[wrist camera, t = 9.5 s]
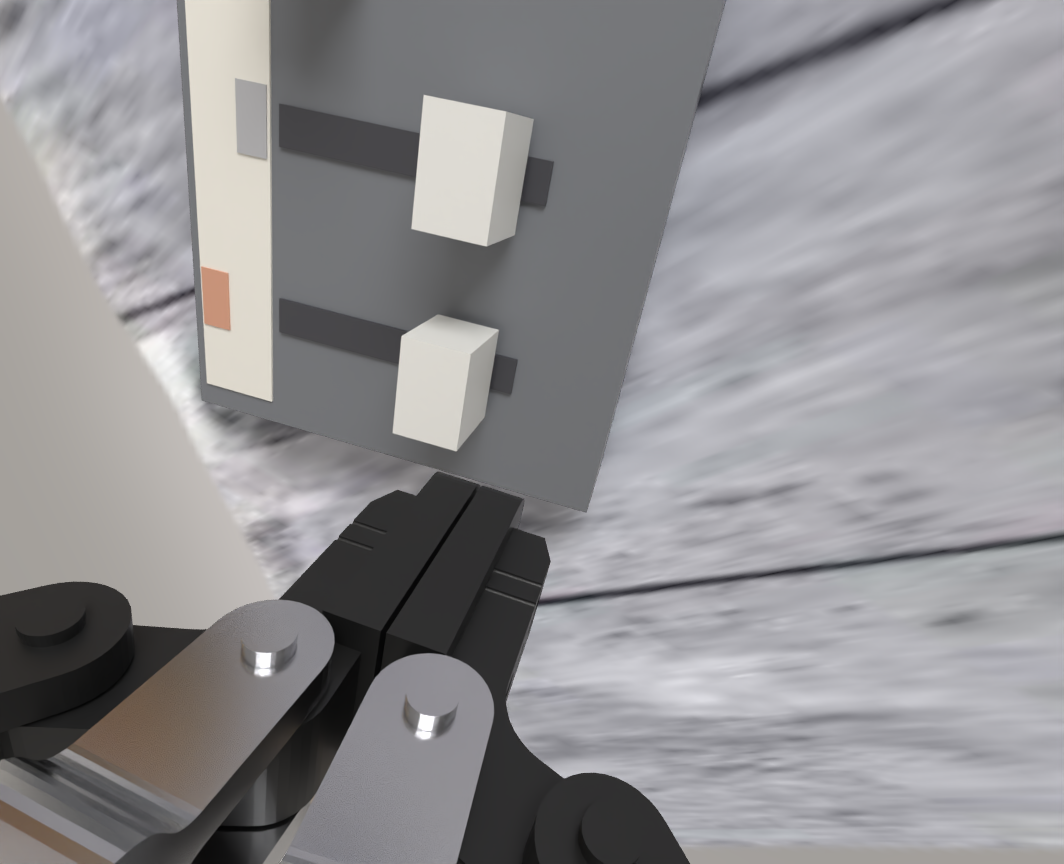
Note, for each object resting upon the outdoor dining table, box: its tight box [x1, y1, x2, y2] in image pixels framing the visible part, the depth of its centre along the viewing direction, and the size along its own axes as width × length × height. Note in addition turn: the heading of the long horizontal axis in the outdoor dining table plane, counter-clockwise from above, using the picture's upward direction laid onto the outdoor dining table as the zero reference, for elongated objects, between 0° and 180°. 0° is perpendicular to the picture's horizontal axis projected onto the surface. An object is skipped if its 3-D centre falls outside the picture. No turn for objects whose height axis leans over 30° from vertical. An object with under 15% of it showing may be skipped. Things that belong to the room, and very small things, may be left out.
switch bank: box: [177, 0, 726, 512], centre depth 23 cm, size 18×24×4 cm
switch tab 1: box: [411, 95, 534, 247], centre depth 19 cm, size 2×4×3 cm, turn 168°
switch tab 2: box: [393, 314, 499, 451], centre depth 22 cm, size 2×4×3 cm, turn 168°
